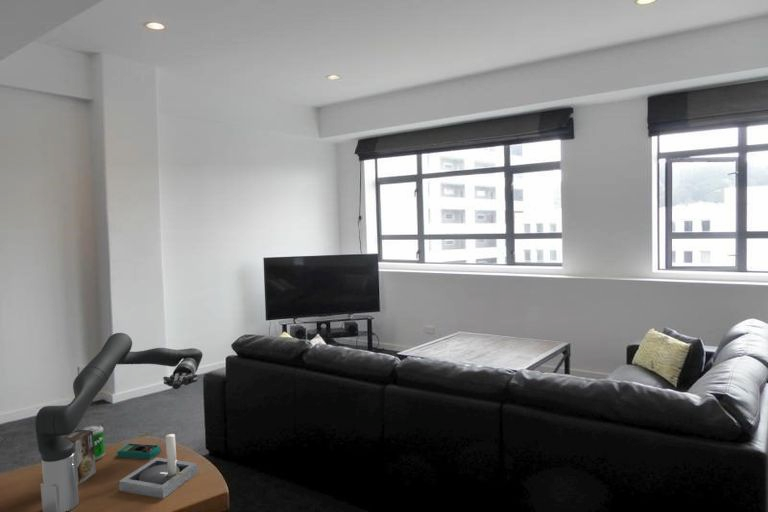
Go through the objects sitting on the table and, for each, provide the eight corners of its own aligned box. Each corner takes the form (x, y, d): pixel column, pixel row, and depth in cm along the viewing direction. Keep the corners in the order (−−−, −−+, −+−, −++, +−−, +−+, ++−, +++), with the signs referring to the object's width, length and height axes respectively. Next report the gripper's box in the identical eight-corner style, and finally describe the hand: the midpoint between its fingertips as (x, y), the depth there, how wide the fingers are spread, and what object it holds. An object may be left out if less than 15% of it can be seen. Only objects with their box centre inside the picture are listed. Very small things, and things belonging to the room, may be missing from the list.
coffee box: (80, 471, 196) (77, 429, 195) (96, 472, 195) (93, 429, 194) (62, 484, 188) (58, 439, 186) (78, 485, 186) (75, 440, 185)
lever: (131, 487, 183) (128, 441, 182) (154, 468, 196) (152, 425, 194) (165, 490, 180) (163, 444, 179) (187, 471, 193) (185, 428, 192)
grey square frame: (163, 498, 177) (162, 488, 177) (119, 490, 182) (118, 480, 182) (198, 472, 194) (197, 462, 194) (156, 466, 199) (156, 456, 199)
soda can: (85, 455, 210) (83, 425, 209) (106, 452, 212) (104, 422, 211) (80, 463, 202) (78, 433, 201) (103, 460, 205) (100, 430, 204)
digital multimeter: (151, 460, 205) (151, 452, 205) (116, 458, 208) (115, 450, 207) (162, 451, 213) (162, 444, 212) (128, 449, 215) (127, 442, 215)
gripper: (166, 364, 213) (156, 377, 196) (201, 362, 215) (194, 375, 198) (167, 382, 213) (157, 397, 196) (202, 380, 216) (195, 395, 199)
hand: (175, 386), depth 197 cm, fingers closed
